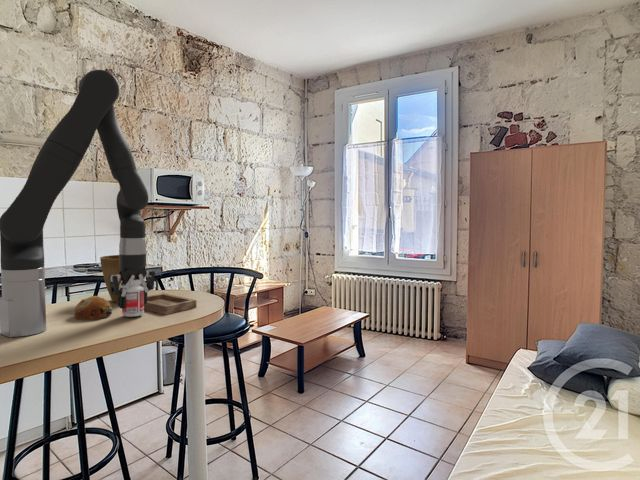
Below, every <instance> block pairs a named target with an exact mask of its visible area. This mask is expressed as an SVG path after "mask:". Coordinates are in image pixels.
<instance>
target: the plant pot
mask: <svg viewBox="0 0 640 480" xmlns="http://www.w3.org/2000/svg"><path fill="white" fill-rule="evenodd" d="M99 261H100V266H101V271H102V275H103V279H104V283H105V285H106V288H107V289H106V290H107V292H108V294H109V297H110V299H111V301H112V302H113V303H117V304H118V296H117V295H113V294H111V289H110V281H109V276H110V275H117V274H119V272H120V267H119V254H111V255H104V256H100V257H99ZM121 281H122V280H121V279H120V278H119V281H118V285H120V283H121Z"/></svg>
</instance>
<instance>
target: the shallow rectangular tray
mask: <svg viewBox="0 0 640 480" xmlns="http://www.w3.org/2000/svg"><path fill="white" fill-rule="evenodd" d="M195 307H196V308H197V300H196V299H193V298H188V297H182V296H179V295H178V296H177V295H173V294H169V293H165V292H164V293H163V292H162V293H157V294H153V295H147V302H146V304H145V305H144V310H146V311H150V312H154V313H158V314H162V315H166V316H167V315H171V314H173V313H179V312H183V311H187V310H191V308H192V309H196V308H195Z"/></svg>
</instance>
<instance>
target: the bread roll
mask: <svg viewBox="0 0 640 480" xmlns="http://www.w3.org/2000/svg"><path fill="white" fill-rule="evenodd" d="M112 311H114V310H113V306H112V304H111V302H109V301H108V300H107V299H106V298H104V297H101V296H99V295H93V296H89V297H87V298H86V297H85V298H84V299H81V300H80V301H79V302H78V303H77V304H76V306H75V308H74V314H73V315H74V317H75V319H77V320H84V321H95V320H101V319H105V318H109V317H111V315H112V313H113V312H112Z"/></svg>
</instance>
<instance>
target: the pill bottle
mask: <svg viewBox="0 0 640 480" xmlns="http://www.w3.org/2000/svg"><path fill="white" fill-rule="evenodd" d="M140 284H141V280H140V279H137V280H133V281H131V286H130V288H129V289H128V290H127V292H126V294H125V296H126V308H124V309H122V308H121V315H122V316H124V317H127V318H130V317H131V318H133V317H139V316H142V315H144V314H145V309H144V288H143V286H141V285H140ZM125 285H126V284H125Z"/></svg>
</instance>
